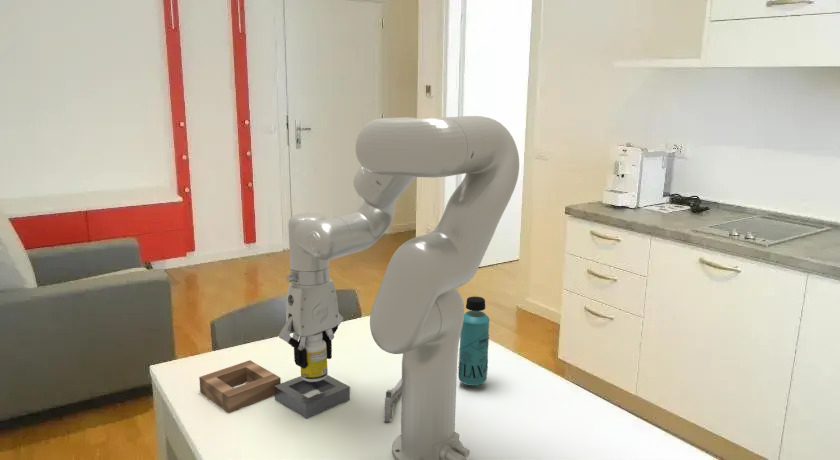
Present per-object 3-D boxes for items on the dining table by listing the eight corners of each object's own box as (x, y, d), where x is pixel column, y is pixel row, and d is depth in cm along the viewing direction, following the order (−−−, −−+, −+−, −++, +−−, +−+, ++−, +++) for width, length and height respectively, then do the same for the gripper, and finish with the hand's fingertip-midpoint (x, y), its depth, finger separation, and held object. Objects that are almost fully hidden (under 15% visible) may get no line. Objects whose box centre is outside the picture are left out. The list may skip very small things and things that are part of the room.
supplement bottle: (298, 374, 129) (295, 329, 127) (323, 369, 131) (321, 325, 129) (304, 384, 124) (302, 338, 122) (331, 379, 126) (329, 333, 124)
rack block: (281, 392, 132) (280, 377, 131) (229, 412, 123) (228, 396, 123) (250, 374, 140) (250, 360, 139) (200, 392, 132) (199, 377, 131)
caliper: (389, 425, 121) (389, 395, 119) (384, 424, 121) (384, 394, 119) (409, 378, 140) (410, 352, 139) (404, 377, 140) (405, 351, 139)
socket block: (350, 399, 129) (349, 386, 129) (306, 418, 122) (306, 404, 121) (317, 382, 137) (317, 369, 136) (274, 399, 129) (274, 386, 128)
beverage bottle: (452, 387, 135) (455, 300, 131) (464, 375, 141) (467, 291, 137) (480, 394, 132) (484, 305, 128) (491, 382, 138) (495, 296, 134)
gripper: (284, 289, 115) (288, 380, 118) (355, 270, 127) (357, 354, 130) (261, 281, 120) (267, 369, 123) (332, 264, 132) (335, 344, 135)
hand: (313, 360), depth 127 cm, fingers closed on supplement bottle, 5 cm apart
